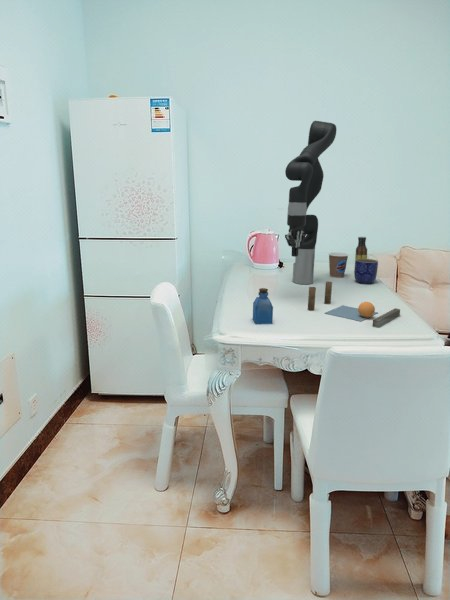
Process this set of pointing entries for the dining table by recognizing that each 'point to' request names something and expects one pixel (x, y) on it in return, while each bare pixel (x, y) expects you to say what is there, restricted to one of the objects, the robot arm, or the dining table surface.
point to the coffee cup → (337, 264)
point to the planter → (365, 270)
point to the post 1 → (311, 298)
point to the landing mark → (347, 313)
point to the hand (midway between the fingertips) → (294, 256)
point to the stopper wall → (386, 317)
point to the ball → (366, 309)
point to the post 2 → (328, 293)
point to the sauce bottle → (361, 249)
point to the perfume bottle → (262, 308)
